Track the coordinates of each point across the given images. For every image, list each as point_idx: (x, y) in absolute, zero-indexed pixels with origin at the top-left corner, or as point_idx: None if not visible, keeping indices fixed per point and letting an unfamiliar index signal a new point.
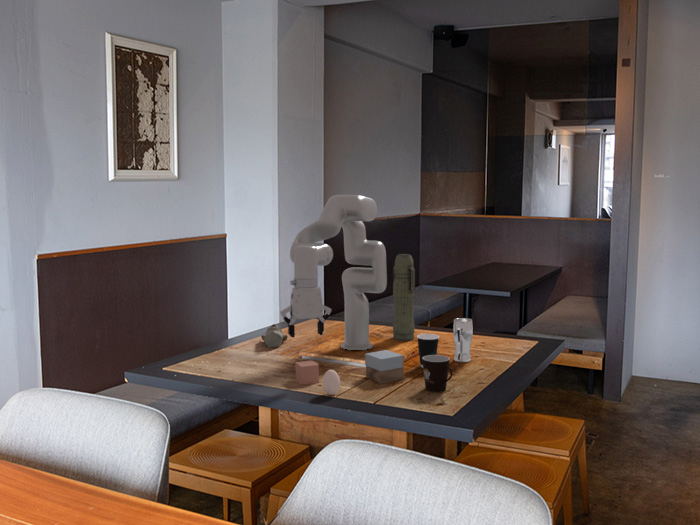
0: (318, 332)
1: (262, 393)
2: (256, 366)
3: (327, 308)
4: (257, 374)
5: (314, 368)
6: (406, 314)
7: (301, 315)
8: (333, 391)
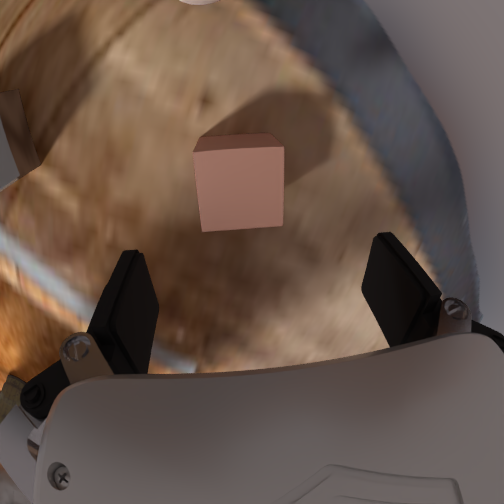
0: (152, 297)
1: (410, 99)
2: (321, 335)
3: (16, 468)
4: (351, 278)
5: (215, 146)
6: (1, 412)
7: (448, 382)
8: None
